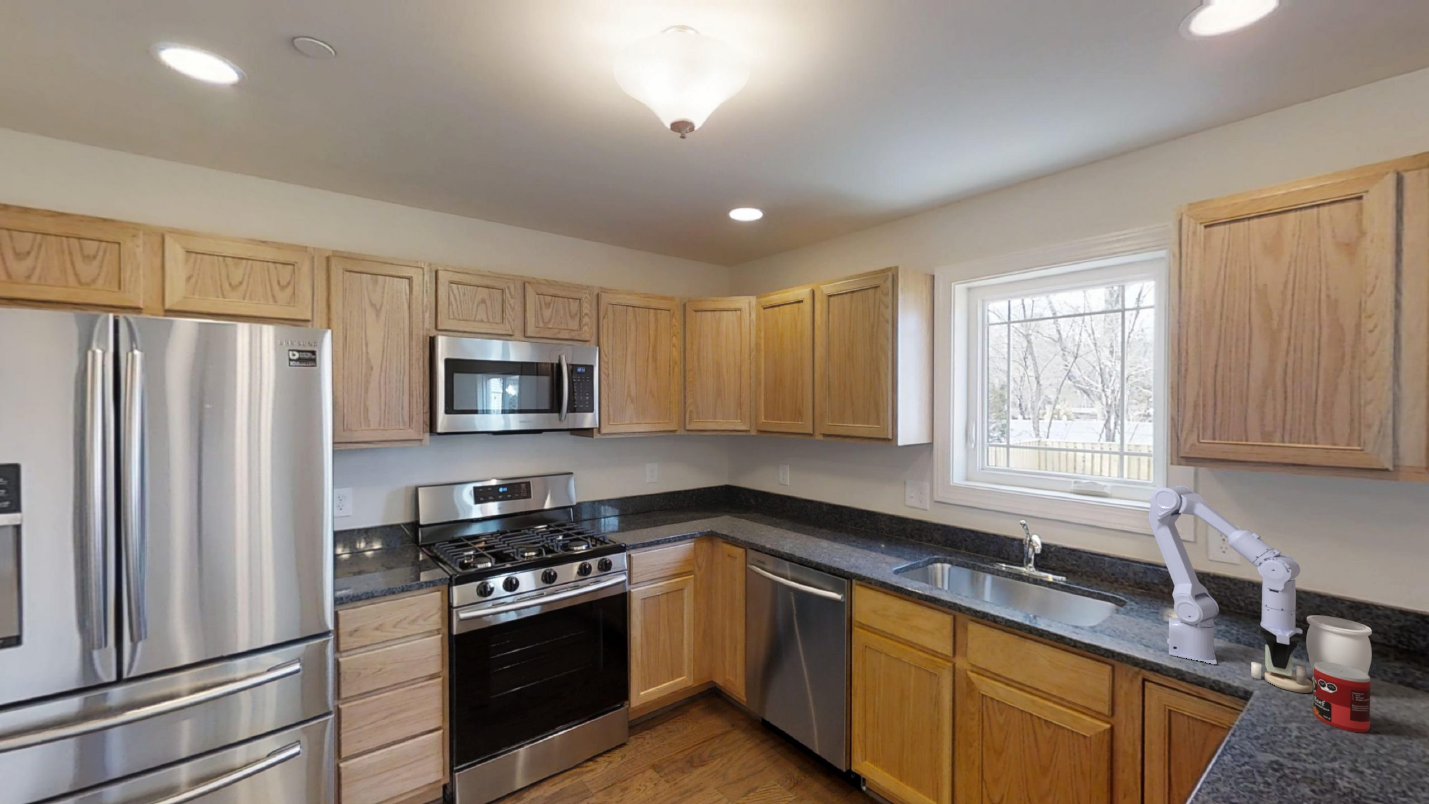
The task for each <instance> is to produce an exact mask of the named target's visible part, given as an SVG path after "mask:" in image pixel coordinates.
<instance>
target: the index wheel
mask: <svg viewBox="0 0 1429 804" xmlns="http://www.w3.org/2000/svg"><path fill="white" fill-rule="evenodd" d="M1264 680H1265V681H1266V680H1267V681H1266V682H1267V683H1268V682H1269V683H1268V684H1270V683H1271V685H1272V684H1273V685H1272V686H1274V685H1275V686H1274V687H1277V688H1279V689H1283V690H1286V691H1291V692H1296V693H1305V694H1308V693H1309V694H1310V693H1312V692H1313V688H1314V683H1313V681H1312V680H1309V678H1307V667H1306V666H1304V665H1300V664H1297V665H1296V672H1295V673H1292V672H1291V676H1288V675H1284V674H1279V673H1274V672H1269V671H1267V669H1266V670H1265V671H1264Z"/></svg>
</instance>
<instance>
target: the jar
mask: <svg viewBox="0 0 1429 804" xmlns="http://www.w3.org/2000/svg"><path fill="white" fill-rule="evenodd" d="M1306 622H1307V623H1308V624H1309V627H1308V629H1307V634H1306V638H1305V639H1306V642H1305V644H1306V651H1307V654H1308V661H1309V664H1310V667H1311V670H1312V673H1314V663H1316V662H1329V663H1336V664H1340V665H1345V666H1348V667H1351V668H1355V669H1357V670H1360V671H1362V672H1364V673H1366V674H1367V675H1369V670H1370V667H1371V663H1372V656H1373V655H1372V653H1373V652H1372V644H1371V641H1370V638H1369V636H1371V635H1372V632H1373V631H1372V629H1371V627H1369V626H1367V625H1365V624H1362V623H1359V622H1356V621H1353V620H1349V619H1345V618H1340V617H1334V616H1328V615H1308V616H1307V617H1306ZM1311 681H1312V682H1314V675H1313V676H1312V677H1311Z"/></svg>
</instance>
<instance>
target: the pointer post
mask: <svg viewBox="0 0 1429 804" xmlns="http://www.w3.org/2000/svg"><path fill="white" fill-rule="evenodd" d="M1250 665H1251V666H1250V669H1251V670H1250V677H1251V676H1252V677H1254V678H1261V679H1262V667H1263V665H1262V664H1261V663H1259V662H1257V661H1256V662H1255V661H1251V663H1250Z"/></svg>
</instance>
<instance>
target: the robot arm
mask: <svg viewBox="0 0 1429 804" xmlns="http://www.w3.org/2000/svg"><path fill="white" fill-rule="evenodd" d="M1148 501H1149V503H1150V505H1149V513H1148V520H1147V521H1148V523H1149V525H1150V528H1151V530H1152V533H1153V536H1154V539H1155V540H1156V543H1157V545H1158V548H1159V550H1160V553H1161V555H1162V557H1163V560H1164V562H1165V566H1166V568H1167V569H1168V570H1167V571H1168V573H1169V574H1170V578H1171V580H1172V583H1173V585H1174V587H1173V592H1172V597H1173V601H1174V605H1173V611H1174V614H1175V615H1176V616H1177V617H1169V618H1168V637H1167V638H1166V642H1167V644H1166V645H1167V646H1168V655H1170V656H1173V657H1177V656H1178V658H1182V659H1186V658H1187V660H1191V659H1192V660H1191V661H1196V660H1198V661H1197V662H1200V661H1204V662H1203V663H1205V662H1206V664H1209V663H1211V664H1210V665H1214V664H1217V665H1218V663H1217V662H1218V661H1217V657H1216V654H1215V622H1214V618H1215V617H1216V616H1217V615H1218V614H1219V611H1220V609H1219V605H1218V602H1217V601H1216V600H1215V598H1213V597H1212V596H1211V595H1210V594H1209V593H1210V592H1209V591H1208V589H1207V588H1206V587H1205V586H1204V585H1203V584H1202V583H1200V581H1199V579H1198V576H1197V574H1196V572H1195V569H1194V567H1193V564H1192V562H1191V559H1190V557H1189V555H1188V552H1187V550H1186V548H1185V545H1184V542H1183V541H1182V538H1181V536H1180V533H1179V530H1178V529H1177V526H1176V522H1177V520H1178V519H1179V517H1180V516H1181V515H1182V514H1183V515H1189V516H1195V517H1197V518H1198V519H1200V520H1202V521H1203V522H1204V523H1206V524H1207V525H1208V526H1210V527H1212V528H1213V529H1214V530H1215V531H1217V532H1218V533H1220V534H1221V535H1222V536H1224V537H1226V538H1227V541H1228V546H1229V547H1231V549H1233V550H1234V551H1235V552H1236V553H1238V554H1239V555H1240V556H1242V557H1243V559H1245V560H1247V561H1248V562H1250V563H1251V564H1252V565H1253V566H1254V567H1257V571H1258V574H1259V576H1261V578H1262V586H1261V587H1262V588H1261V621H1260V626H1261V627H1259V630H1260V631H1261V633H1262V636H1263V638H1264V640H1265V644H1266V645H1268V647H1269V650H1270V656H1271V661H1272V664H1273V667H1276V668H1281V669H1286V667H1287V664H1288V661H1289V658H1290V655H1291V654H1292V653H1293V651H1294V650H1295V649H1296V648H1297V647H1298V645H1299V644H1298V642H1297V641H1294V640H1291V639H1292V638H1293V637H1294V635H1296V634H1300V635H1301V634H1303V629H1302V628H1300V627H1296V608H1297V607H1296V606H1297V605H1296V604H1297V603H1296V602H1297V601H1296V600H1297V598H1296V597H1297V593H1296V592H1297V590H1296V578H1297V577H1298V576H1299V575H1300V573H1301V568H1300V565H1299V563H1298V562H1297V561H1296V560H1295V559H1294V558H1293V557H1292V556H1291V555H1288V554H1282V551H1280V550H1279V549H1277V548H1276V549H1275V548H1273V547H1272V546H1271V545H1270V544H1268V543H1266V542H1265V541H1264V540H1263V539H1261V537H1262V535H1260V534H1259V533H1257V532H1252V531H1251V530H1246V529H1245V530H1244V529H1240V528H1238V527H1237V526H1236V525H1235V524H1234V523H1233V522H1231V521H1230V520H1229V519H1228V518H1226V517H1225V516H1224V515H1223V514H1222V513H1220V511H1218V510H1217V509H1215V507H1213V506H1212V505H1210V504H1209V502H1207V501H1206V500H1205V499H1204V497H1202V496H1201V495H1200V494H1198V493H1197V492H1194V491H1193V490H1192V489H1191V488H1190V487H1188V486H1185V485H1175V486H1171V487H1159V488H1157V489H1156V490H1155V491H1154V492H1153V493H1152V494H1151V496H1150V497H1149V498H1148Z"/></svg>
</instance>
